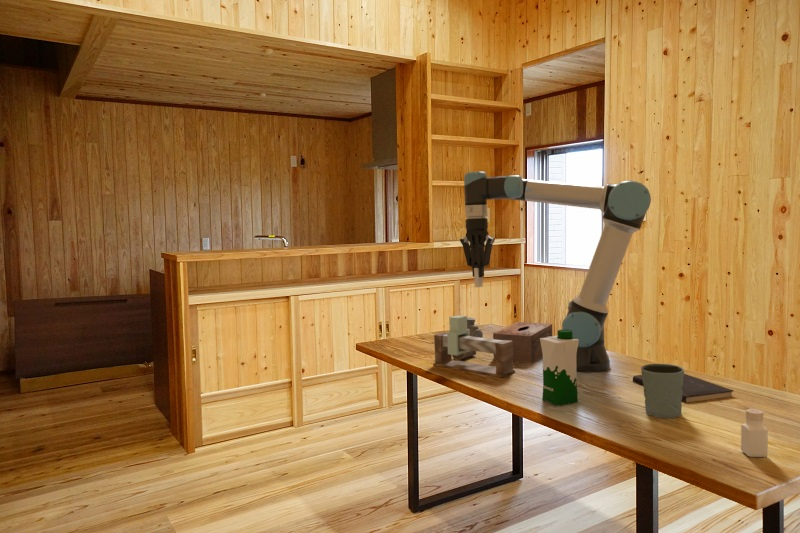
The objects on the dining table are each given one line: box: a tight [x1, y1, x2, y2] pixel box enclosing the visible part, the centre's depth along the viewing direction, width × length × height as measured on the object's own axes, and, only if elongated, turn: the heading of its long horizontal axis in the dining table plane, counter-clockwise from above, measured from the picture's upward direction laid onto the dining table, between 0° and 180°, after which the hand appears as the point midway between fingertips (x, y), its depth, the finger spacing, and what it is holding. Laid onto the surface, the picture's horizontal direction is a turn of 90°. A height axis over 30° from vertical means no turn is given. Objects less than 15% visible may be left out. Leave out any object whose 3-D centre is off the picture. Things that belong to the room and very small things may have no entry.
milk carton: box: [540, 329, 579, 407], centre depth 166 cm, size 9×9×20 cm
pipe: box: [452, 350, 477, 361], centre depth 226 cm, size 6×17×10 cm
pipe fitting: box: [467, 316, 484, 338], centre depth 252 cm, size 12×8×10 cm
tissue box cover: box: [492, 321, 553, 364], centre depth 225 cm, size 26×14×10 cm, turn 149°
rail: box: [433, 331, 516, 378], centre depth 205 cm, size 29×8×11 cm, turn 48°
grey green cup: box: [640, 363, 685, 419], centre depth 153 cm, size 10×10×12 cm
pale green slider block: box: [446, 314, 470, 356], centre depth 209 cm, size 4×8×13 cm, turn 138°
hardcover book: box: [632, 373, 734, 404], centre depth 174 cm, size 16×23×2 cm
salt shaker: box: [740, 408, 769, 458], centre depth 125 cm, size 4×4×10 cm
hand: (478, 286), depth 201 cm, fingers closed
